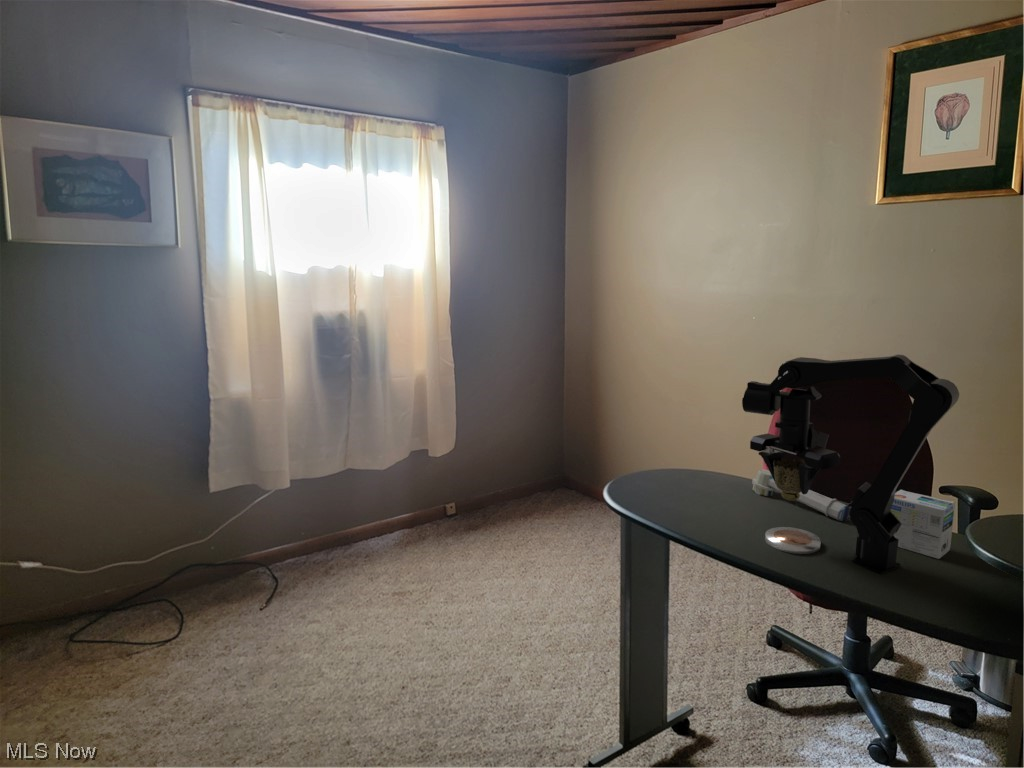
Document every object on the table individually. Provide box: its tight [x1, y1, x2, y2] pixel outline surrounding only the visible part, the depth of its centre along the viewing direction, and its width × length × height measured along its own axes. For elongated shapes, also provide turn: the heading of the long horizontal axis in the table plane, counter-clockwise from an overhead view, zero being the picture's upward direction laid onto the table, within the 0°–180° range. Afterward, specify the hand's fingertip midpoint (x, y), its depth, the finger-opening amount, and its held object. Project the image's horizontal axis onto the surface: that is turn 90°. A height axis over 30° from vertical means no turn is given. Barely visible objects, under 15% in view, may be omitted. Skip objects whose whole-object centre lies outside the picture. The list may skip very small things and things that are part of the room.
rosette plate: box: [764, 526, 821, 555], centre depth 143 cm, size 11×11×1 cm
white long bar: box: [751, 468, 851, 522], centre depth 164 cm, size 5×7×25 cm
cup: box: [773, 457, 805, 501], centre depth 141 cm, size 8×7×8 cm
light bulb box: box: [890, 489, 956, 560], centre depth 139 cm, size 11×7×11 cm, turn 41°
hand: (791, 489), depth 142 cm, fingers closed on cup, 6 cm apart
